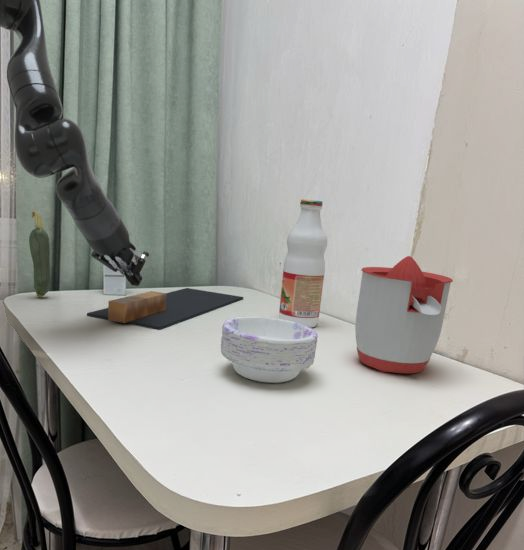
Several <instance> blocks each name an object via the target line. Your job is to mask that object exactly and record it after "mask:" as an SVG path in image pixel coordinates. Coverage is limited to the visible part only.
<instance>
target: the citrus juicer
mask: <svg viewBox="0 0 524 550" xmlns="http://www.w3.org/2000/svg"><path fill="white" fill-rule="evenodd" d="M421 269H422V268H421V267H420V266H419V264H418V263H417V261H416V260H415V259H414V258H413V257H412V256H410V255H408V256H405V257H404V258H402V259H401V260H399V261H398V262H397V263H396V264H395V265H394V266H393V267H387V266H386V267H385V266H365V267H362V268H361V270H360V271H361V272H362V274H361V279H360V286H359V287H360V288H359V294H358V301H357V307H356V314H355V324H354V327H355V328H354V329H355V330H354V331H355V341H356V352H357V355H358V359H359V361H360V362H361V363H362V364H363V365H366V366H368V367H370V368H373V369H376V370H377V371H379V372H380V373H395V374H417V373H421V372H422V371H424V369H425V368H426V366H428V364H429V362H430V360H431V357H432V355H433V353H434V351H435V350H436V347H437V344H438V342H439V339H440V337H441V332H442V328H443V323H444V319H445V313H446V308H447V304H448V299H449V293H450V289H451V283H453V281H454V280H453V278H451V277H448V276H447V275H443V274H438V273H433V272H427V271H422V270H421Z"/></svg>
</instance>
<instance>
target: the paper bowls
mask: <svg viewBox="0 0 524 550" xmlns="http://www.w3.org/2000/svg"><path fill="white" fill-rule="evenodd" d="M318 337H319V335H318V332H317V331H315V329H313V328H312V327H311V328H310V327H308V326H305V325H302V324H299V323H296V322H292V321H288V320H283V319H279V318H275V317H269V316H268V317H266V316H251V315H250V316H238V317H237V316H236V317H231V318H228V319H226V320H225V321H224V322H223V323H222V329H221V338H220V353H221V355H222V356H223V357H224V358H225V359H227V360H228V361H230V362H231V364H232V367H233V369H234V371H235V372H236V373H237V374H238V375H239V376H241V377H243V378H245V379H248V380H251V381H255V382H259V383H269V384H278V383H284V382H290V381H292V380H294V379H295V378H296V377H298V376H299V374H300V372H301V371H303V370H305V369H306V370H307V369H309V368H310V367H311V366H312V365H314V363H315V358H316V352H317V351H316V350H317V344H318Z"/></svg>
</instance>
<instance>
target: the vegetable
mask: <svg viewBox="0 0 524 550" xmlns="http://www.w3.org/2000/svg"><path fill="white" fill-rule="evenodd" d="M31 218H34V219H33V225H34V226H33V227H34V229H32V230H31V231H30V233H29V236H28V245H29V251H30V255H31V259H32V264H33V288H34V291H35V294H36V297H38V298H40V299H41V298H43V297H44V296H46V294H47V293H48V292H49V291H50V286H51V248H50V245H51V243H50V237H49V235H48V232H47V231H46V230H45V229H44V227H45V226H44V220H43V218H42V217H41V216H40V214H39V213H38V211H35V210H33V211H32V212H31Z"/></svg>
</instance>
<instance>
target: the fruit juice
mask: <svg viewBox="0 0 524 550" xmlns="http://www.w3.org/2000/svg"><path fill="white" fill-rule="evenodd" d="M299 207H300V212H299V213H300V214H299V216H298V219H297V221H296V223H295V225H294V227H293V228H292V229H291V230H290V231H289V232H288V235H287V239H286V247H287V255H286V257H285V258H284V263H283V269H282V271H283V272H282V280H281V289H280V301H279V311H278V319H283V320H288V321H292V322H296V323H299V324H302V325H305V326H308V327H310V328H311V329H312V328H316V327H317V326H318V324H319V318H320V311H321V304H322V296H323V287H324V278H325V272H326V260H325V253H326V249H327V247H328V236H327V234H326V232H325V230H324V228H323V224H322V220H321V210H322V209H323V201H322V200H314V199H313V200H312V199H300V201H299Z"/></svg>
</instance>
